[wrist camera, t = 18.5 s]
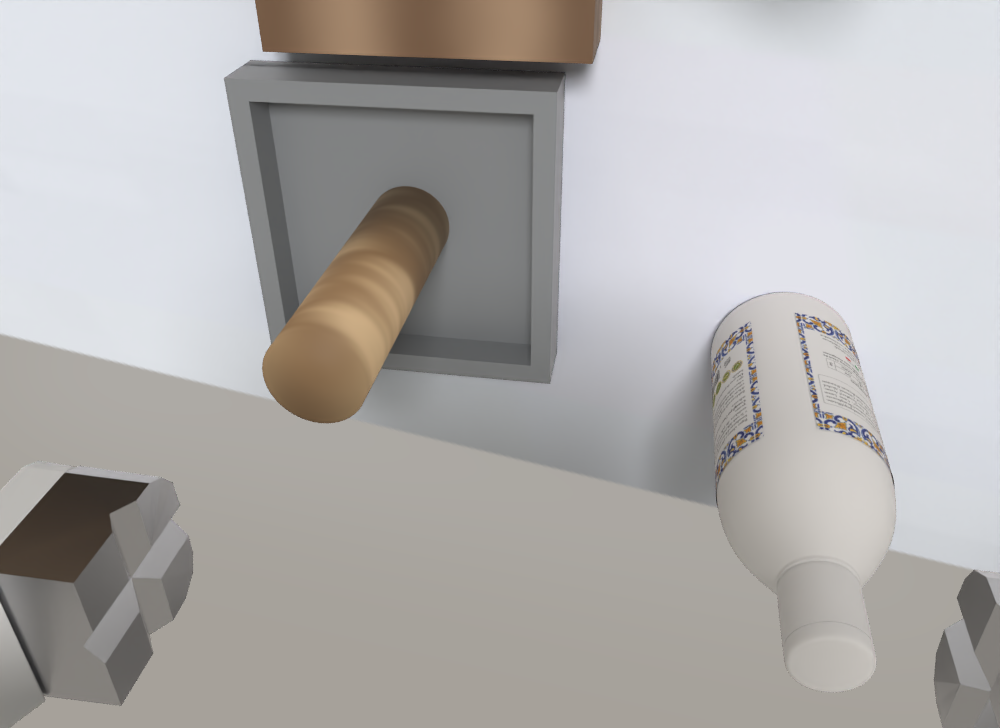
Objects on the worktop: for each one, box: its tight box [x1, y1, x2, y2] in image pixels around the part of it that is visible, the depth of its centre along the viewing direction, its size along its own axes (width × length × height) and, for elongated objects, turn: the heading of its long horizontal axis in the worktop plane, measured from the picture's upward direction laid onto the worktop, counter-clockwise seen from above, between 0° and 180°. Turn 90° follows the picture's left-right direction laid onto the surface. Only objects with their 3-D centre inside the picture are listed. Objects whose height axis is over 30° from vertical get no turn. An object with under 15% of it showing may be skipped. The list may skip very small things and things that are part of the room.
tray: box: [224, 60, 565, 384], centre depth 44 cm, size 15×15×3 cm
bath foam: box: [711, 292, 896, 692], centre depth 38 cm, size 7×7×20 cm
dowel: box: [262, 186, 449, 423], centre depth 39 cm, size 4×4×14 cm
